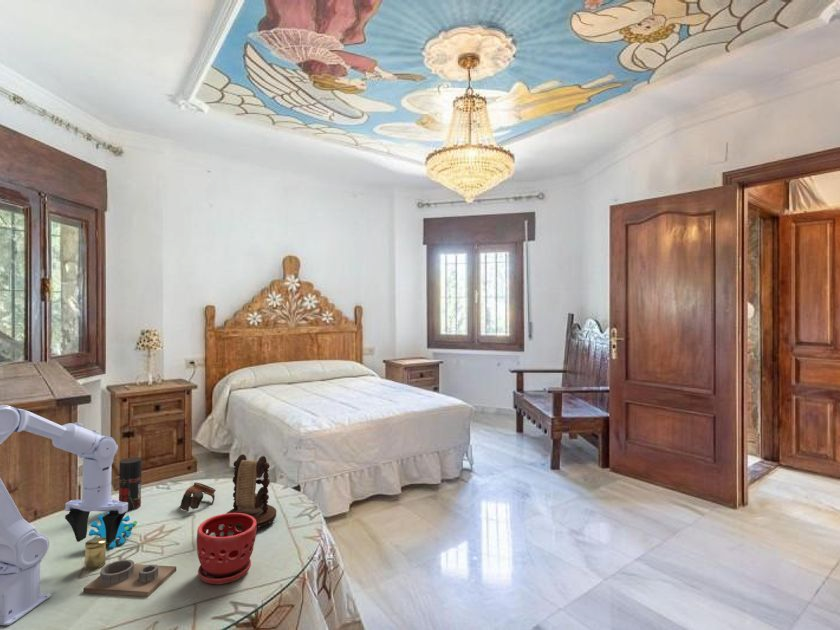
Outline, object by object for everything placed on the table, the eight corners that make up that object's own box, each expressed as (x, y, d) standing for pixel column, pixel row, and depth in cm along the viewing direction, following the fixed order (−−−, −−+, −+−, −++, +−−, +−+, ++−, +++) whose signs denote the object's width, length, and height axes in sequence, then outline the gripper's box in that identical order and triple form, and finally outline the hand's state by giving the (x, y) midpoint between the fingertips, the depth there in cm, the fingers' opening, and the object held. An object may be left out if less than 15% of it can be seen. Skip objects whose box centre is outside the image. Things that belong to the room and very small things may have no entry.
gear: (90, 550, 113) (89, 512, 119) (83, 561, 116) (83, 523, 121) (139, 540, 121) (136, 506, 127) (132, 551, 124) (129, 516, 129)
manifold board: (148, 596, 98) (148, 582, 98) (83, 592, 99) (83, 578, 99) (176, 570, 108) (176, 558, 108) (116, 567, 109) (117, 554, 109)
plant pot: (190, 594, 99) (191, 540, 99) (201, 562, 112) (202, 514, 112) (253, 585, 103) (254, 533, 103) (257, 555, 115) (258, 509, 115)
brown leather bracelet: (178, 505, 146) (191, 479, 149) (206, 514, 149) (219, 489, 152) (175, 509, 135) (190, 482, 139) (206, 520, 138) (220, 493, 141)
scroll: (212, 531, 127) (213, 461, 128) (241, 509, 142) (243, 446, 142) (259, 537, 125) (261, 465, 125) (285, 514, 139) (286, 450, 139)
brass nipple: (96, 571, 107) (97, 546, 107) (80, 570, 107) (80, 545, 107) (110, 561, 111) (110, 537, 111) (93, 560, 111) (94, 536, 111)
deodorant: (120, 505, 144) (121, 458, 144) (142, 502, 146) (143, 456, 146) (116, 512, 138) (117, 464, 138) (139, 509, 141) (140, 461, 141)
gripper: (136, 479, 113) (136, 533, 113) (82, 477, 114) (81, 531, 114) (116, 490, 106) (115, 548, 106) (58, 488, 107) (57, 545, 107)
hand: (96, 540), depth 109 cm, fingers open, 7 cm apart
